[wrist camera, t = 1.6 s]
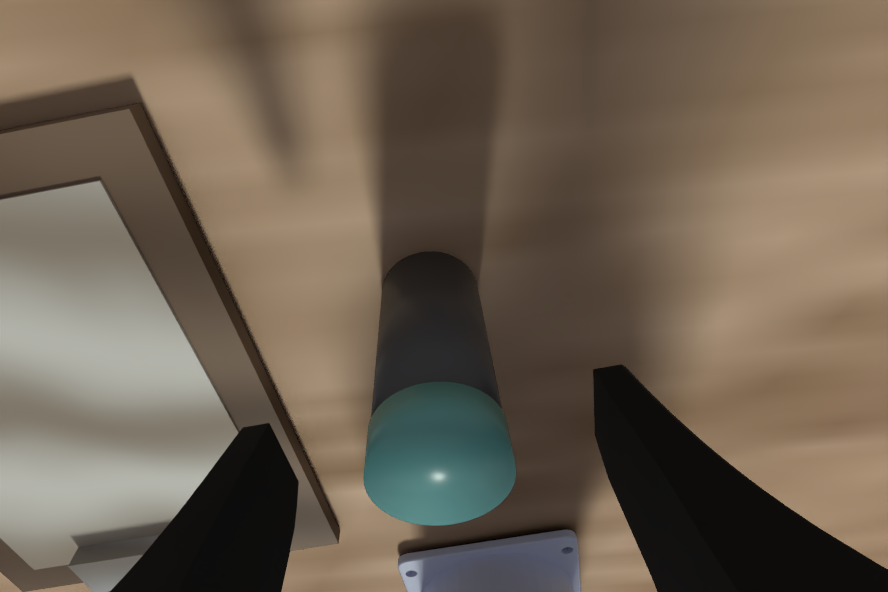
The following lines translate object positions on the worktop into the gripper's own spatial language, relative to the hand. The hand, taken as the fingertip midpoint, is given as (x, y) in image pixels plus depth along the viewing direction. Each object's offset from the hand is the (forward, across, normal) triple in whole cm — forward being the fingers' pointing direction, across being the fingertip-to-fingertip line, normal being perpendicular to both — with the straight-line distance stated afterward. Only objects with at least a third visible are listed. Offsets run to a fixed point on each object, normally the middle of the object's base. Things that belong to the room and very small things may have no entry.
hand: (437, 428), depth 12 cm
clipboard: (+6, +13, +2) cm, 14 cm away
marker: (+6, 0, 0) cm, 6 cm away
